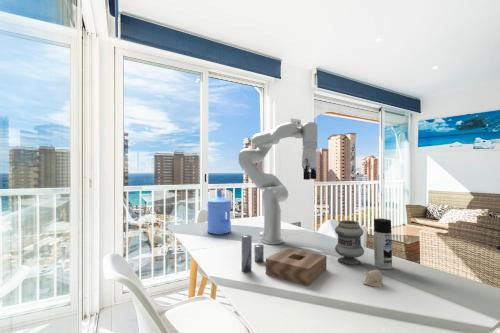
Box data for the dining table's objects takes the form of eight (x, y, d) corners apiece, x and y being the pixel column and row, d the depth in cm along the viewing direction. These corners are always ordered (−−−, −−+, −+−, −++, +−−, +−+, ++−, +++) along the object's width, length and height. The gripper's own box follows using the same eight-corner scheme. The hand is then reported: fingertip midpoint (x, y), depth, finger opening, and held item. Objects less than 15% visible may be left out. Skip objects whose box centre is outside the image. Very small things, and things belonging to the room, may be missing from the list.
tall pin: (239, 271, 104) (239, 236, 104) (245, 268, 107) (245, 234, 107) (247, 273, 102) (247, 238, 102) (253, 270, 105) (253, 236, 105)
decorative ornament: (386, 285, 91) (386, 270, 91) (367, 288, 88) (367, 273, 89) (377, 280, 95) (377, 266, 95) (359, 284, 92) (359, 269, 92)
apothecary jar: (330, 262, 114) (330, 221, 114) (341, 256, 123) (341, 218, 123) (358, 269, 106) (357, 225, 106) (368, 262, 114) (367, 221, 115)
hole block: (265, 273, 101) (265, 258, 101) (287, 260, 116) (287, 247, 116) (308, 286, 90) (308, 268, 91) (326, 270, 105) (326, 255, 105)
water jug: (204, 234, 164) (204, 190, 165) (211, 228, 180) (211, 189, 180) (227, 235, 162) (227, 191, 162) (233, 229, 177) (233, 189, 178)
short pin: (253, 261, 115) (253, 246, 115) (258, 259, 118) (258, 243, 118) (260, 263, 112) (260, 247, 113) (265, 261, 116) (265, 245, 116)
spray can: (385, 271, 104) (384, 221, 105) (370, 265, 110) (370, 219, 111) (395, 268, 107) (395, 220, 108) (380, 262, 113) (380, 217, 114)
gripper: (308, 148, 142) (308, 178, 142) (296, 145, 128) (296, 179, 128) (322, 147, 138) (322, 179, 138) (311, 144, 124) (311, 179, 124)
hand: (310, 179), depth 133 cm, fingers open, 9 cm apart
